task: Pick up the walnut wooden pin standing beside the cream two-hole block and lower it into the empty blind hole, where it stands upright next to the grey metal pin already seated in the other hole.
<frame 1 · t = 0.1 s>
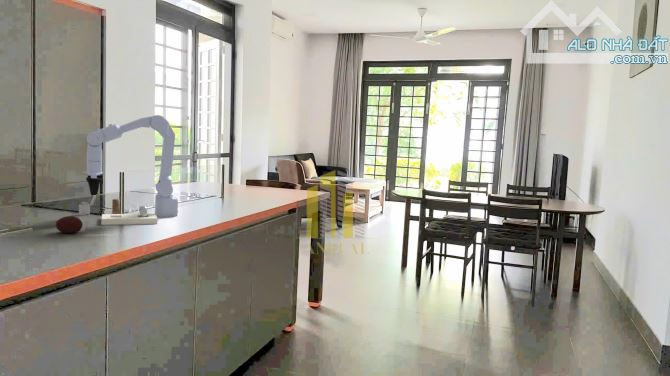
hand: (94, 193, 195), 10 cm above the countertop, fingers open, 7 cm apart
steel pin: (143, 221, 191), point 1 cm above the countertop, touching hole block
potato: (69, 233, 168), on the countertop
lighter: (87, 214, 202), on the countertop
hole block: (129, 223, 189), on the countertop
walnut pin: (115, 218, 197), on the countertop
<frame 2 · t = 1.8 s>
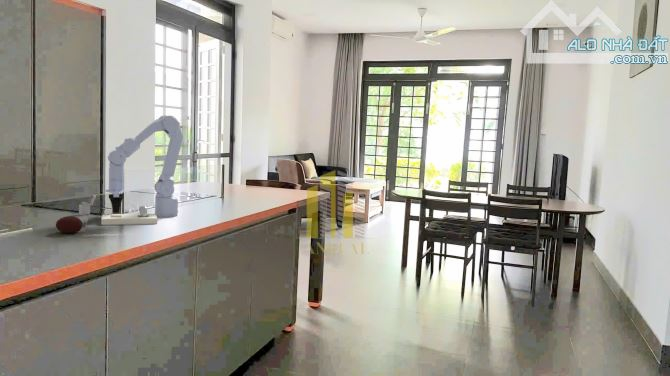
hand: (115, 211, 196), 3 cm above the countertop, fingers closed on walnut pin, 3 cm apart
walnut pin: (115, 218, 197), on the countertop, touching gripper
everything else where it was.
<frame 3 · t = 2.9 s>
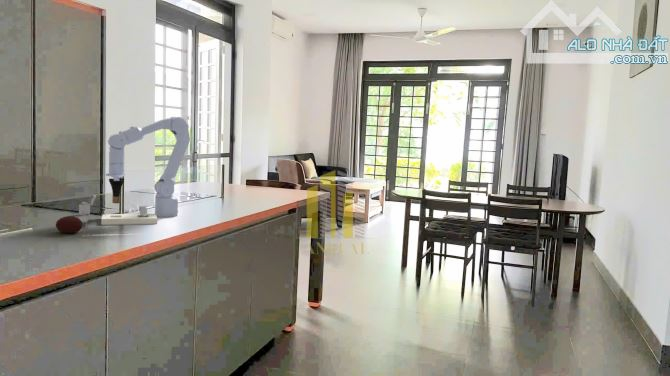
hand: (116, 196, 196), 9 cm above the countertop, fingers closed on walnut pin, 3 cm apart
walnut pin: (116, 202, 196), point 7 cm above the countertop, touching gripper
everything else where it was.
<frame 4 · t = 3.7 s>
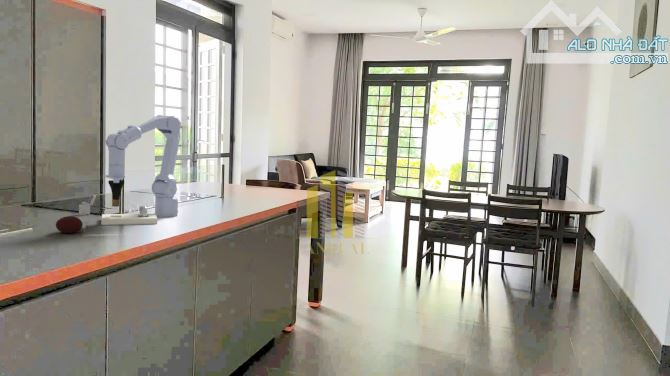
hand: (116, 198, 186), 10 cm above the countertop, fingers closed on walnut pin, 3 cm apart
walnut pin: (115, 205, 186), point 7 cm above the countertop, touching gripper
everything else where it was.
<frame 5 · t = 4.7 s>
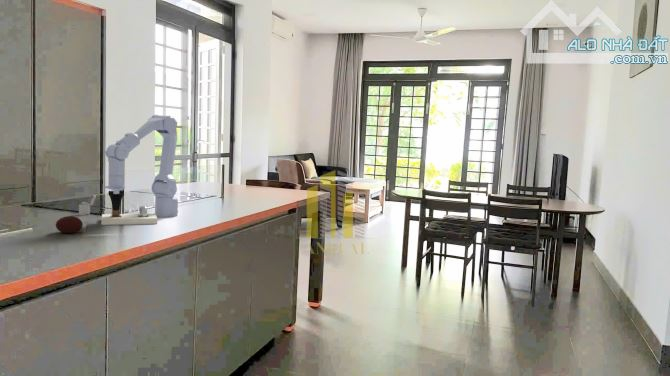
hand: (116, 209, 186), 6 cm above the countertop, fingers closed on walnut pin, 3 cm apart
walnut pin: (115, 216, 186), point 3 cm above the countertop, touching gripper
everything else where it was.
when the fingers open (5 cm above the countertop, at t = 5.7 s): walnut pin stays where it is, resting on hole block.
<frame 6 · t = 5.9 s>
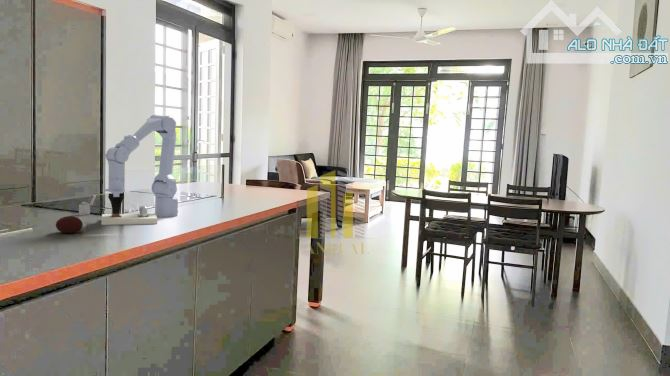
hand: (116, 212, 186), 5 cm above the countertop, fingers open, 4 cm apart
walnut pin: (115, 221, 187), point 1 cm above the countertop, touching hole block
everything else where it was.
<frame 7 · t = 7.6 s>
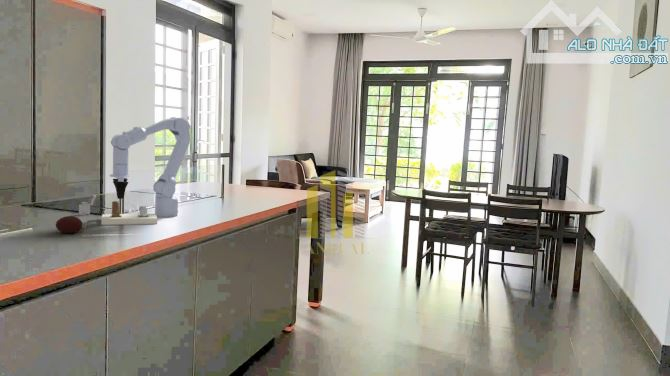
hand: (120, 197, 194), 9 cm above the countertop, fingers open, 7 cm apart
nothing on the countertop moved.
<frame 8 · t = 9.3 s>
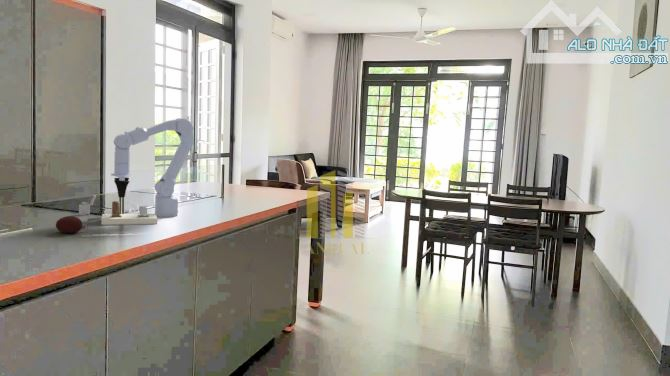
hand: (121, 195, 197), 9 cm above the countertop, fingers open, 7 cm apart
nothing on the countertop moved.
at the end: walnut pin 0.1 cm from the target spot on the hole block, point 0.8 cm above the hole block's base; walnut pin tilted 0°; the gripper is holding nothing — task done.
